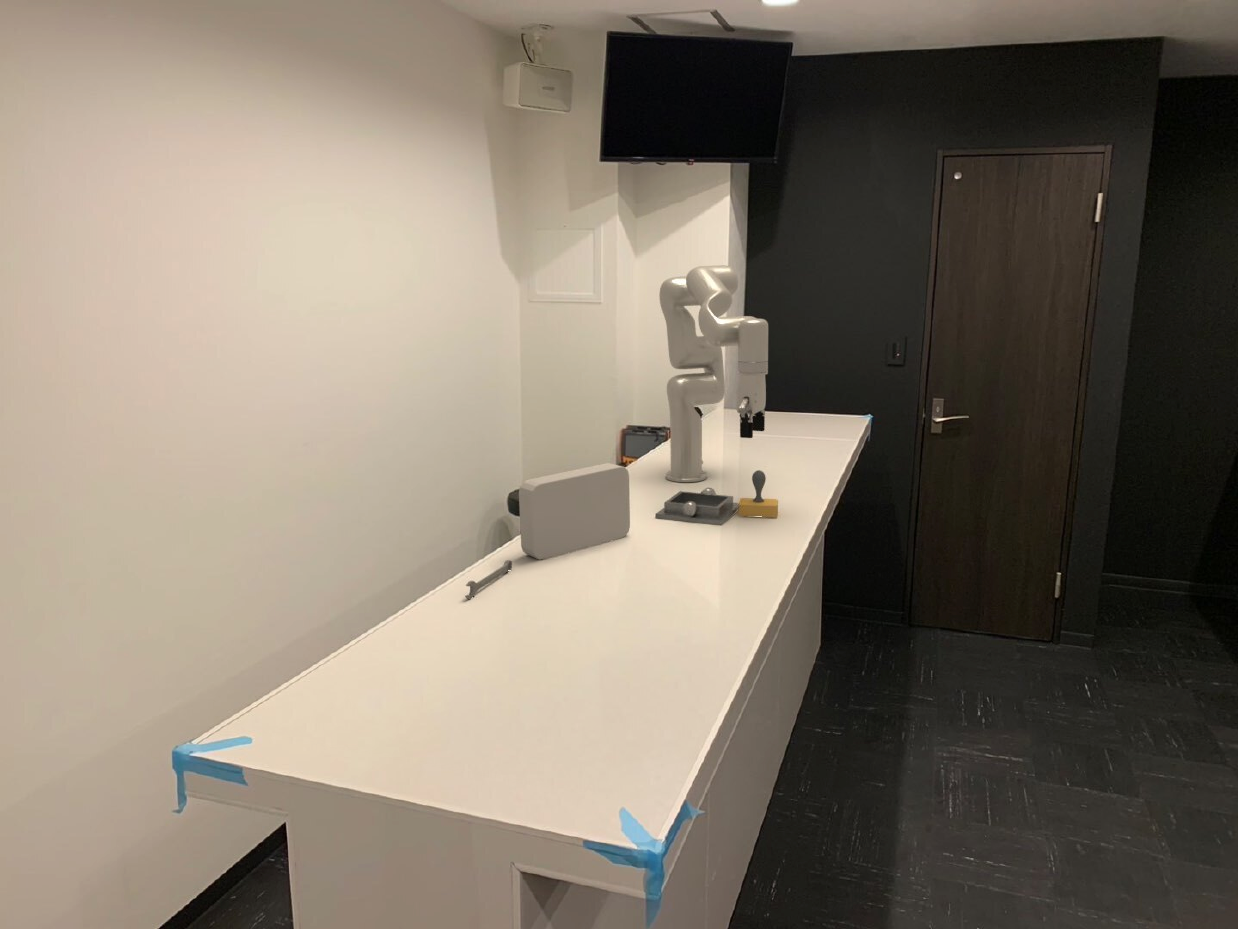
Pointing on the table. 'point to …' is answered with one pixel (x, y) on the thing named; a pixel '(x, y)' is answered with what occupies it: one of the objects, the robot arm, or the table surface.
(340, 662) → the table surface
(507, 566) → the combination wrench
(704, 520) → the grey metal square tray
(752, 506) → the rubber stamp
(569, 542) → the grey control panel
